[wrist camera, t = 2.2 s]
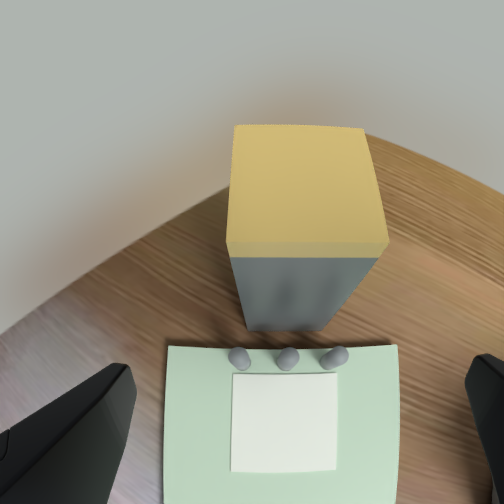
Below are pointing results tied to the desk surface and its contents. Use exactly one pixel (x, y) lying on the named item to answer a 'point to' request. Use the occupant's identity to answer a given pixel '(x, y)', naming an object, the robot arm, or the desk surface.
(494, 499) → the electrical switch
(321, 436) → the board
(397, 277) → the desk surface
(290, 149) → the plug block
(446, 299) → the desk surface
